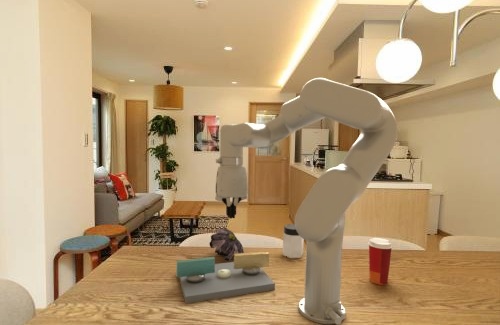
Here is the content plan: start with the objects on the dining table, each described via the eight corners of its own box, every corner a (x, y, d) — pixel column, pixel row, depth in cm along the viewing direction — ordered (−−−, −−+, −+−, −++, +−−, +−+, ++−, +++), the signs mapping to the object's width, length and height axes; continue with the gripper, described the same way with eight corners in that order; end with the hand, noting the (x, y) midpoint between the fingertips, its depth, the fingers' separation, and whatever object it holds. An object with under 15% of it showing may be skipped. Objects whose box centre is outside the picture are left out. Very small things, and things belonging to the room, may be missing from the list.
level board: (274, 289, 93) (275, 278, 93) (185, 303, 84) (185, 291, 83) (253, 264, 112) (253, 255, 112) (178, 273, 102) (178, 264, 102)
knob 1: (211, 272, 99) (212, 254, 99) (216, 280, 94) (216, 261, 93) (175, 277, 95) (175, 258, 95) (177, 285, 90) (177, 265, 89)
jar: (307, 255, 122) (308, 227, 121) (294, 260, 117) (295, 230, 116) (291, 249, 129) (292, 222, 128) (278, 253, 124) (279, 225, 123)
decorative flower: (224, 241, 108) (210, 221, 120) (212, 268, 110) (199, 245, 122) (255, 245, 116) (239, 226, 129) (243, 270, 118) (228, 248, 130)
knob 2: (235, 276, 96) (235, 258, 96) (232, 268, 102) (232, 251, 102) (270, 273, 99) (270, 256, 99) (265, 266, 105) (266, 249, 104)
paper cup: (388, 277, 103) (390, 238, 102) (392, 288, 95) (395, 246, 95) (364, 274, 105) (366, 236, 104) (367, 284, 98) (369, 243, 97)
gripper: (211, 163, 90) (211, 222, 91) (256, 162, 95) (256, 218, 96) (206, 162, 97) (206, 216, 98) (248, 161, 102) (248, 213, 103)
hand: (231, 217), depth 97 cm, fingers closed
